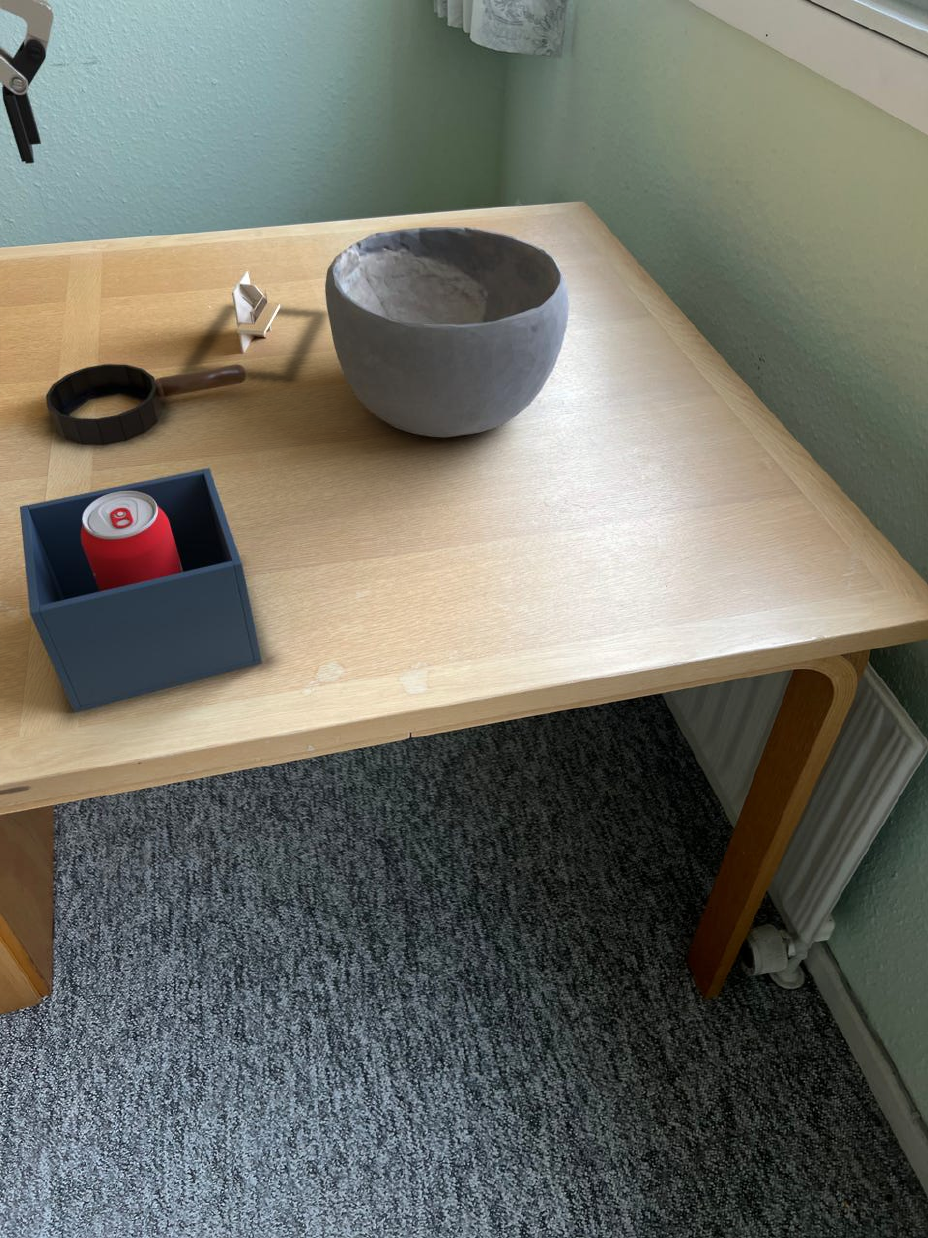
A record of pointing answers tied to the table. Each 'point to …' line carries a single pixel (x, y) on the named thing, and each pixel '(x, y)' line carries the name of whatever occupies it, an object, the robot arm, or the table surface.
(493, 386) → the bowl
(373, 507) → the table surface
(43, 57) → the robot arm
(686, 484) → the table surface
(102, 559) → the beverage can
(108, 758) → the table surface
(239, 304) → the architectural model
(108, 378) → the pan
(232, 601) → the bin
